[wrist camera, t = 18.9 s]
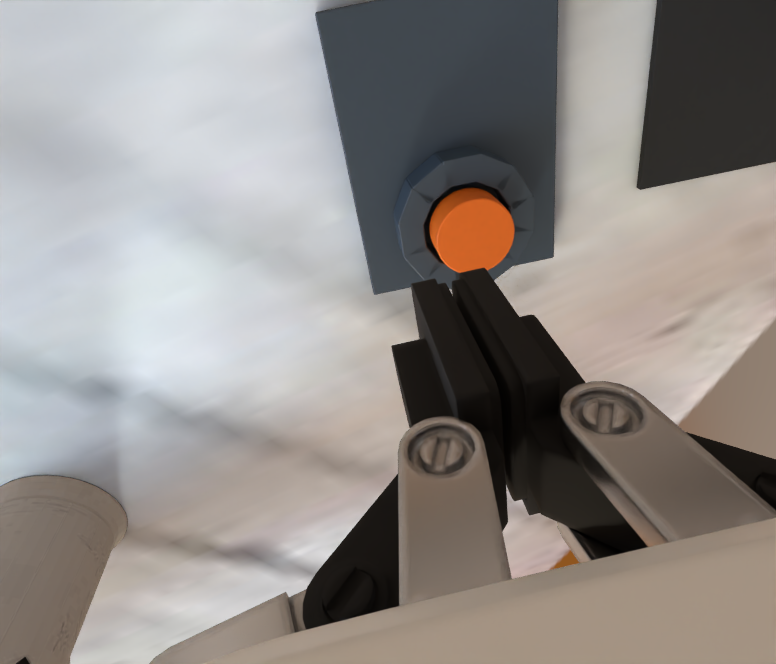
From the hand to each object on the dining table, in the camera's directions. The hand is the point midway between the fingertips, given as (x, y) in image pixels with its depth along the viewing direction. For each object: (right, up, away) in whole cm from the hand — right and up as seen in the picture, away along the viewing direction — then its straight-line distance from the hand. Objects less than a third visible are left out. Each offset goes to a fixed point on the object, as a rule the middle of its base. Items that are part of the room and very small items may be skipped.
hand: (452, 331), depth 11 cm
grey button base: (+1, +9, +13) cm, 16 cm away
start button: (+2, +5, +12) cm, 13 cm away
